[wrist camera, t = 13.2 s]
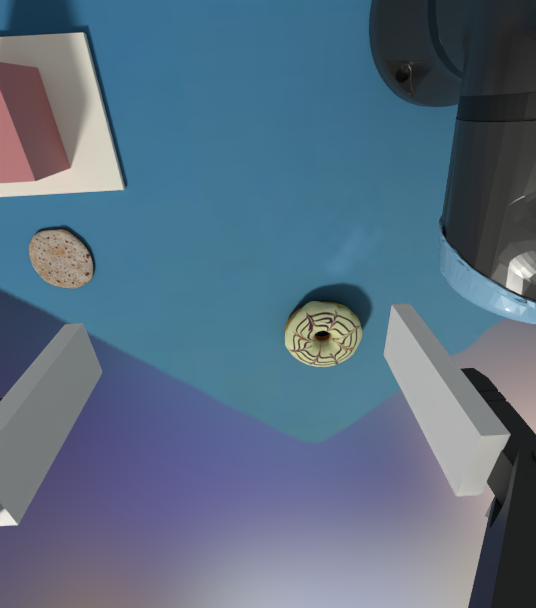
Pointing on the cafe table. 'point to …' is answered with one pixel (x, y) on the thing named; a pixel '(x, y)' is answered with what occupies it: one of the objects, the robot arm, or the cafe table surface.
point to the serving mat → (68, 113)
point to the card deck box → (27, 128)
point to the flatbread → (61, 258)
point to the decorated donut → (327, 348)
